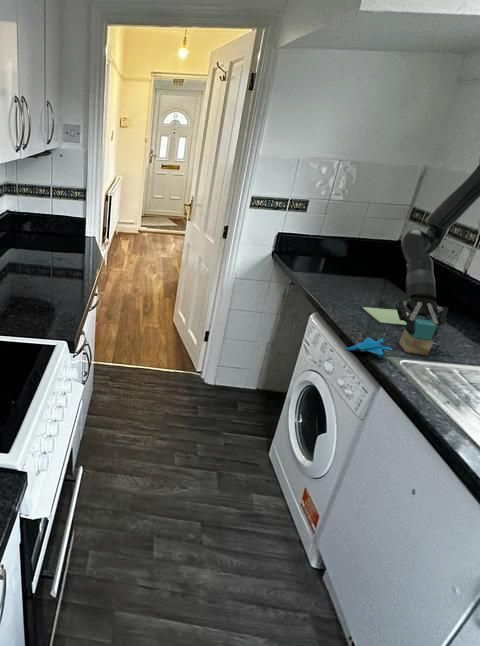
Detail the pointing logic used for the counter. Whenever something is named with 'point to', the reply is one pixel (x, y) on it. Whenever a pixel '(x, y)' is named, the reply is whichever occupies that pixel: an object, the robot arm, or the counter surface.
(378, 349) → the toy airplane
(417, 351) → the base block
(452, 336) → the counter surface
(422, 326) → the top cube
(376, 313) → the mat
